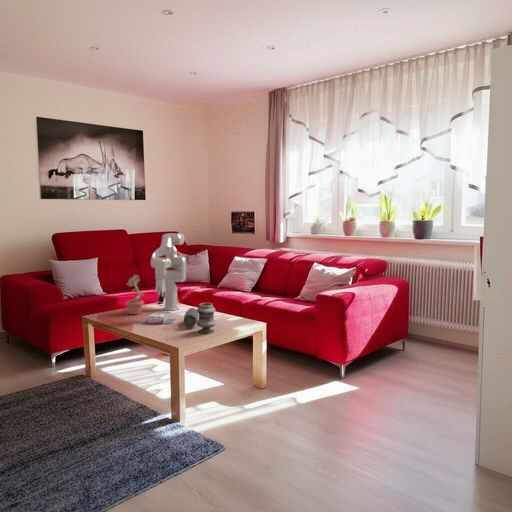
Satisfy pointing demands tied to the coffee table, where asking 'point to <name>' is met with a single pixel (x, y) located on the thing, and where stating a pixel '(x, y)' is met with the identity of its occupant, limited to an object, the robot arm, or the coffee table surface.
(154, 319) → the candy bar box
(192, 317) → the bluetooth speaker
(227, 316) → the coffee table surface
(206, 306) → the apothecary jar
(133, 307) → the decorative flower
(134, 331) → the coffee table surface
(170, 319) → the mat
